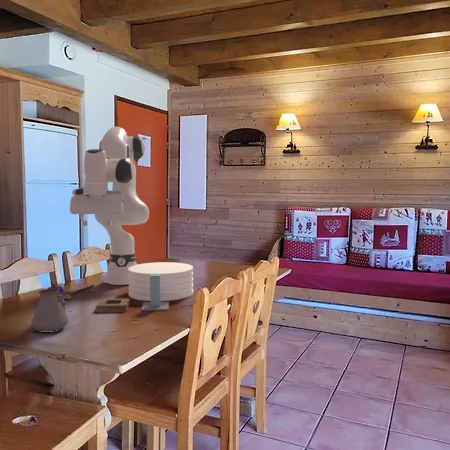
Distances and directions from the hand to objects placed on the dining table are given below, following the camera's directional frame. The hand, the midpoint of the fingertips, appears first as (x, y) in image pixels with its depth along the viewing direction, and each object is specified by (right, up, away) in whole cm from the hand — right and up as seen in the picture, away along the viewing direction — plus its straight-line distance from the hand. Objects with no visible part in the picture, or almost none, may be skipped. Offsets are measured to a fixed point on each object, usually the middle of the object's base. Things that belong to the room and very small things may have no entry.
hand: (97, 225), depth 181 cm
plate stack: (+23, -30, +19) cm, 42 cm away
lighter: (-8, -34, -23) cm, 41 cm away
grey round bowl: (-20, -31, +9) cm, 38 cm away
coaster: (+24, -32, -4) cm, 40 cm away
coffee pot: (-2, -34, -31) cm, 47 cm away
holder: (+8, -32, -6) cm, 33 cm away
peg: (+24, -31, -4) cm, 39 cm away
